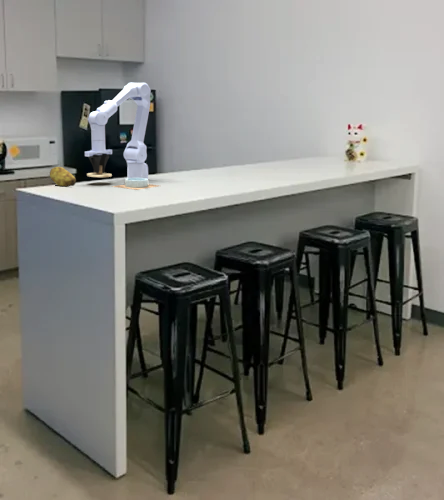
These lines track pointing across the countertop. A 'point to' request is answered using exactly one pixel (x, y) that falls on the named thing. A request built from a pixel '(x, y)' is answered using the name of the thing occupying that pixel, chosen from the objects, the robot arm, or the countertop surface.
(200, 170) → the countertop surface
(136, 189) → the board
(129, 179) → the bowl
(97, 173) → the lid
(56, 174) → the potato
